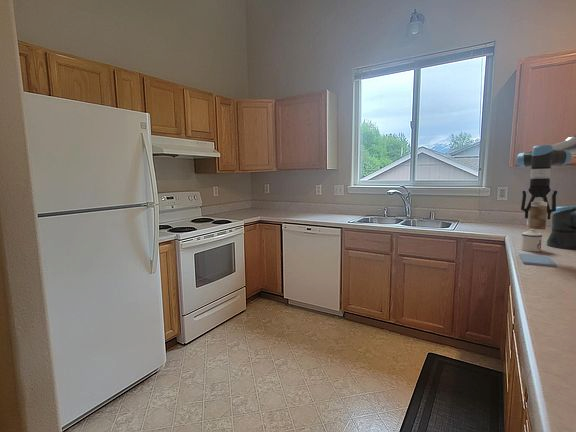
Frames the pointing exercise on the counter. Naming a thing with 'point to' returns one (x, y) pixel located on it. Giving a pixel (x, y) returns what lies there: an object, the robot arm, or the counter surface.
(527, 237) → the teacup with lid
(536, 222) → the beige canister
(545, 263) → the slate mat
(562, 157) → the robot arm
